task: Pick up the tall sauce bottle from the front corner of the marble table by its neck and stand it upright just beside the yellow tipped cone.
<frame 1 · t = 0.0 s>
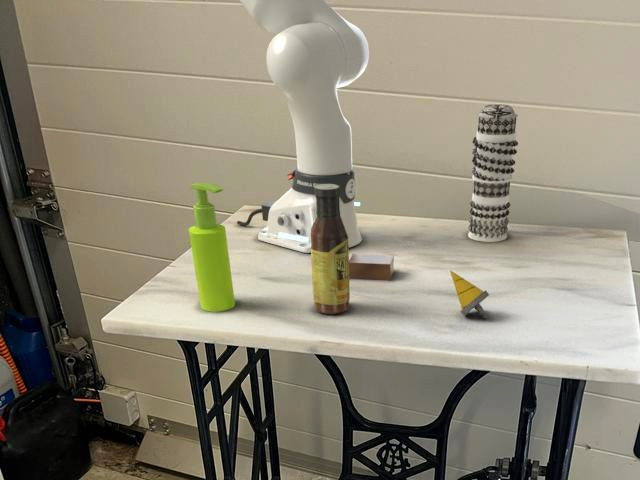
sauce bottle: (332, 309, 126), on the table
decorative candle: (487, 236, 159), on the table
lime green necked cylinder: (220, 307, 127), on the table
yellow tipped cone: (467, 316, 124), on the table
plywood offcut: (371, 274, 140), on the table
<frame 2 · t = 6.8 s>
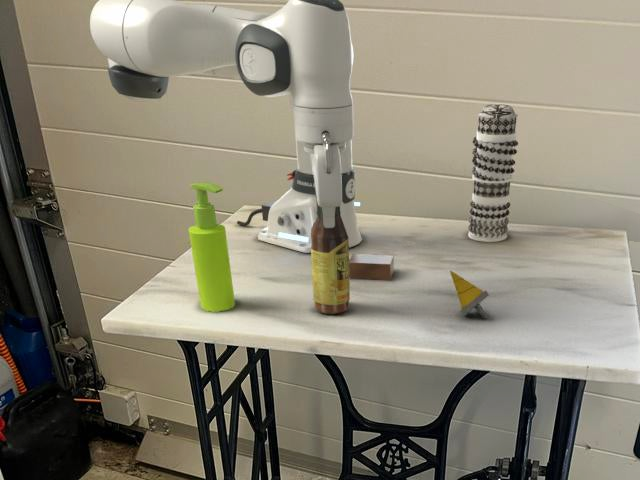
hand: (328, 221, 117), 15 cm above the table, tool pointing down, fingers closed on sauce bottle, 4 cm apart
sauce bottle: (332, 309, 126), on the table, touching gripper
everything else where it was.
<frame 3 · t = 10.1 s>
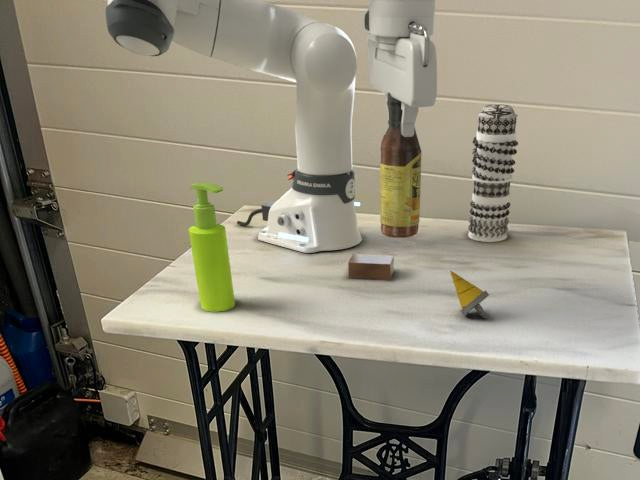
hand: (400, 132, 108), 28 cm above the table, tool pointing down, fingers closed on sauce bottle, 4 cm apart
sauce bottle: (399, 234, 117), point 13 cm above the table, touching gripper
everything else where it was.
when the fingers open (15 cm above the table, at t = 13.4 s): sauce bottle stays where it is, on the table.
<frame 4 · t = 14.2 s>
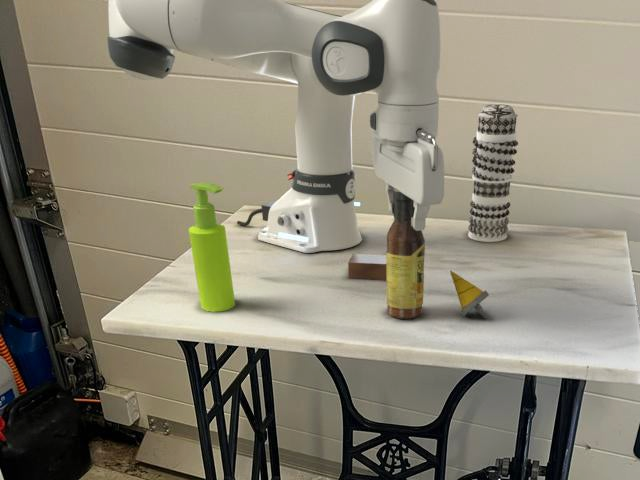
hand: (406, 221, 115), 15 cm above the table, tool pointing down, fingers open, 8 cm apart
sauce bottle: (404, 314, 125), on the table
everything else where it was.
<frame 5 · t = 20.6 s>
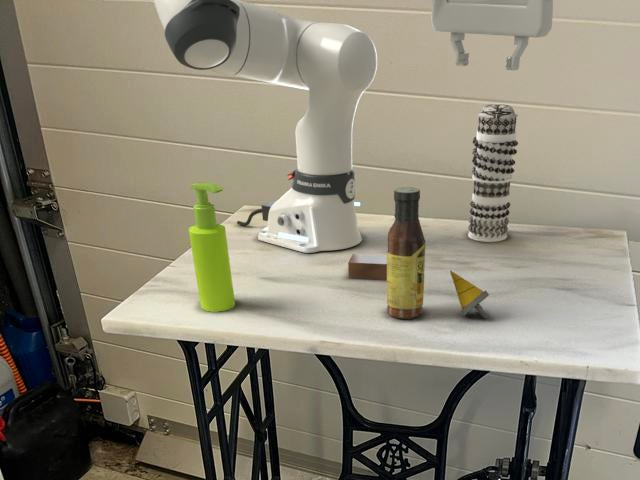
hand: (486, 67, 119), 34 cm above the table, tool pointing down, fingers open, 8 cm apart
nothing on the table moved.
at the end: sauce bottle 10.8 cm from the yellow tipped cone (horizontally); sauce bottle tilted 1°; yellow tipped cone moved 0.2 cm from its start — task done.
